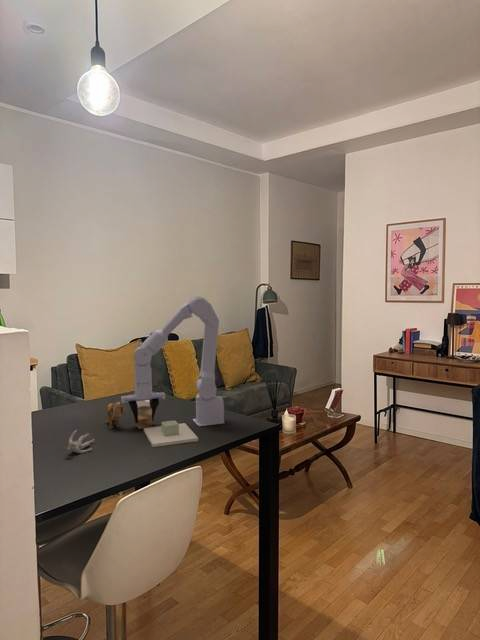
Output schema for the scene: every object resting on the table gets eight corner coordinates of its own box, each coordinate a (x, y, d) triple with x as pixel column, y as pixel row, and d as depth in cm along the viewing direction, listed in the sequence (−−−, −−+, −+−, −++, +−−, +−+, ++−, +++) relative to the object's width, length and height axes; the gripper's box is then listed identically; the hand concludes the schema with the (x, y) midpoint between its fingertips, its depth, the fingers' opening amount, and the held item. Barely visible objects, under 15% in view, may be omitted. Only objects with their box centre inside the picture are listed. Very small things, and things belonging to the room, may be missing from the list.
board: (184, 426, 156) (184, 414, 155) (198, 441, 141) (198, 427, 141) (143, 431, 151) (143, 418, 150) (153, 447, 136) (152, 433, 135)
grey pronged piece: (101, 447, 139) (88, 448, 128) (89, 458, 139) (74, 461, 127) (85, 428, 141) (70, 428, 129) (72, 439, 140) (57, 440, 128)
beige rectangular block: (131, 407, 182) (131, 393, 181) (160, 406, 182) (160, 392, 182) (124, 418, 167) (124, 403, 166) (155, 417, 167) (155, 402, 167)
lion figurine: (128, 428, 154) (127, 402, 153) (112, 431, 151) (111, 404, 150) (113, 418, 166) (112, 393, 165) (99, 420, 163) (98, 395, 162)
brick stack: (149, 423, 159) (149, 405, 158) (152, 427, 154) (151, 408, 154) (136, 424, 157) (135, 406, 156) (138, 428, 153) (138, 410, 152)
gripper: (161, 378, 161) (162, 415, 162) (119, 381, 155) (120, 420, 157) (166, 382, 154) (167, 421, 155) (122, 386, 149) (123, 426, 150)
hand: (144, 421), depth 155 cm, fingers closed on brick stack, 5 cm apart
